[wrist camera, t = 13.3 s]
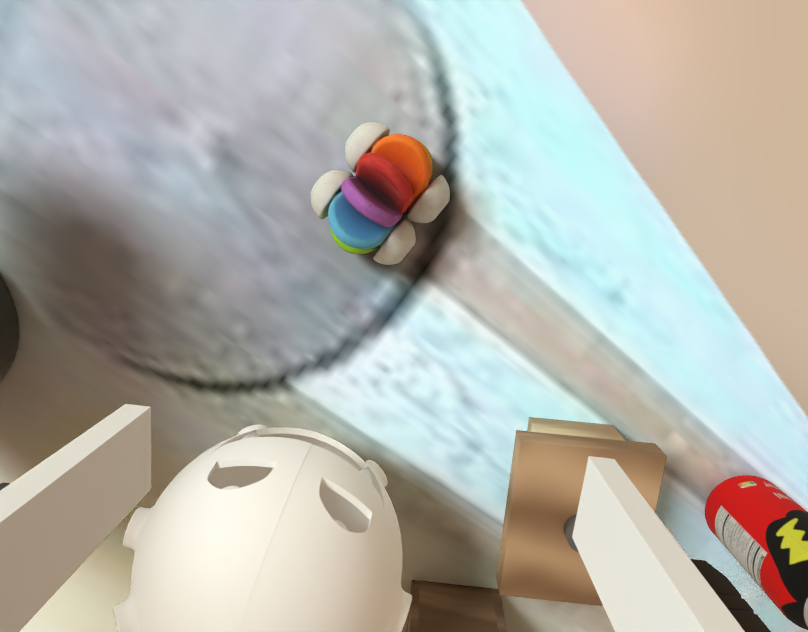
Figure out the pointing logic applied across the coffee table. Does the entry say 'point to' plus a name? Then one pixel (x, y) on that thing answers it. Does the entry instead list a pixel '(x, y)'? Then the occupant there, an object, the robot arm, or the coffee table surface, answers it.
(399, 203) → the rainbow disc baby toy
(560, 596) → the lid
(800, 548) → the beverage can
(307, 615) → the decorative ball
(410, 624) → the box
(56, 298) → the coffee table surface
